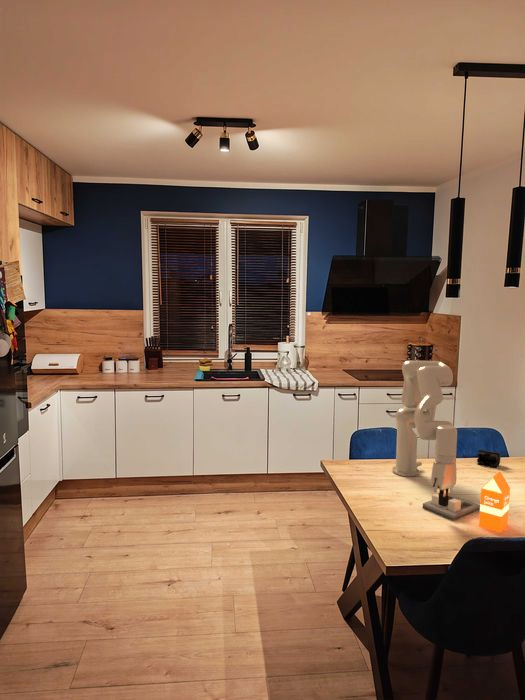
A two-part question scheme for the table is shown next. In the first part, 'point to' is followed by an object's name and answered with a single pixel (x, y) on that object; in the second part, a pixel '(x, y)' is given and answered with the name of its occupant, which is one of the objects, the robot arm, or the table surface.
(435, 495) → the tab
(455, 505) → the tab
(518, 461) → the table surface
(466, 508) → the switch board
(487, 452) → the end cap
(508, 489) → the orange juice
